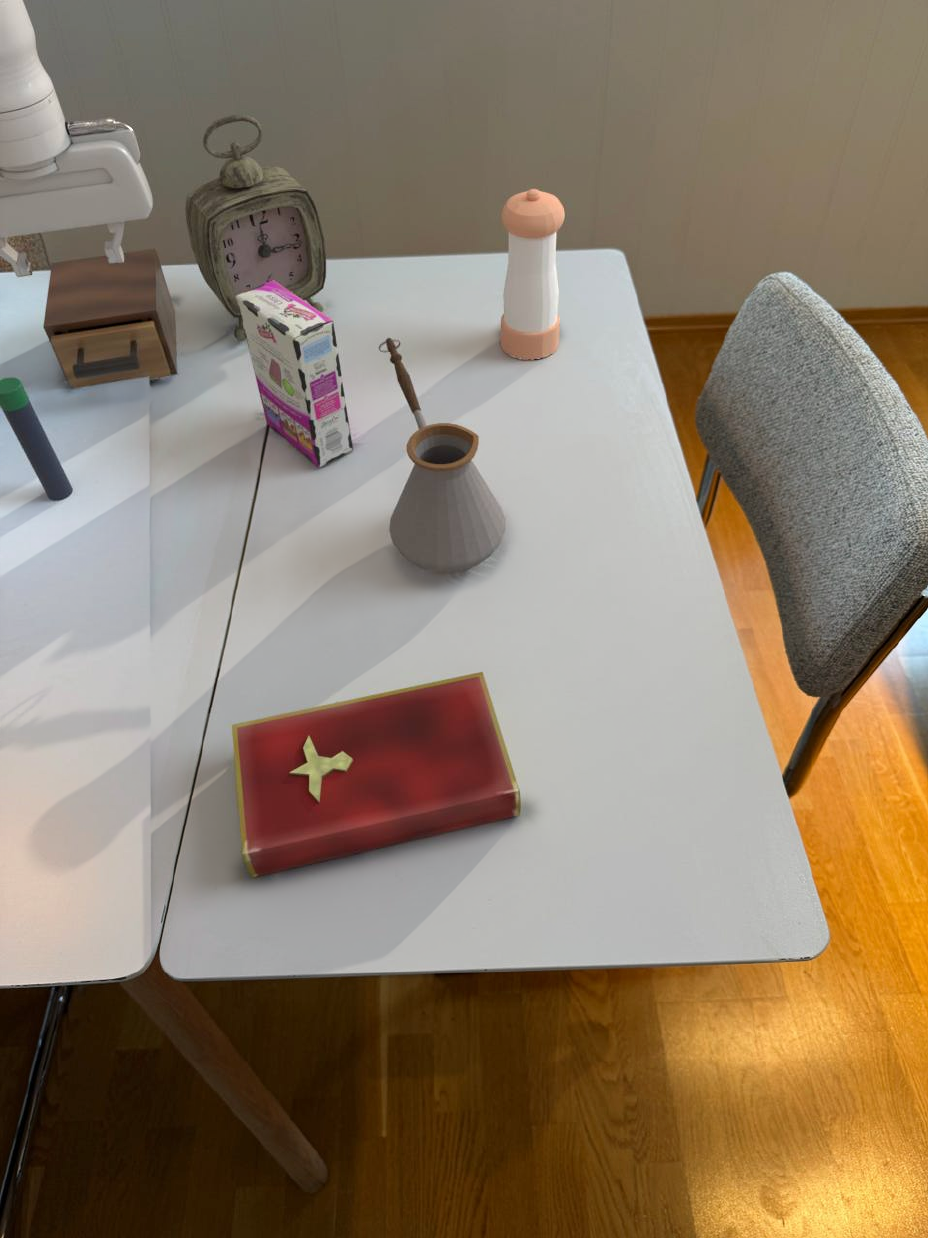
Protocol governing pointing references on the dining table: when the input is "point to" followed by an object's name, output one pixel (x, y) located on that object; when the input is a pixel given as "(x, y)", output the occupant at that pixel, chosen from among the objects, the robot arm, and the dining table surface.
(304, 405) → the candy bar box
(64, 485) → the marker
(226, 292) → the tabletop clock
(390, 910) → the dining table surface
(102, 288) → the cabinet
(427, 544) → the coffee pot
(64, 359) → the drawer
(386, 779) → the hardcover book
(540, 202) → the pepper shaker
